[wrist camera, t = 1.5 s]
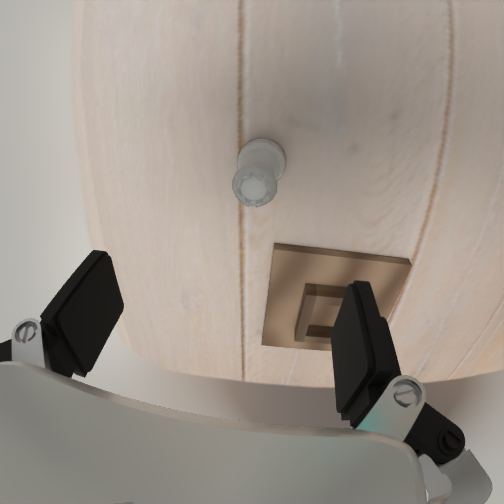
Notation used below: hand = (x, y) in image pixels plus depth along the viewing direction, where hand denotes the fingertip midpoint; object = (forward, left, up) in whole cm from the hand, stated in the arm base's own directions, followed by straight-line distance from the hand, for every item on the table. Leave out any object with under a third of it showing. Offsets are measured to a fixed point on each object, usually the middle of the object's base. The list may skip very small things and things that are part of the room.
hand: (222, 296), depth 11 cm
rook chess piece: (0, 0, -19) cm, 19 cm away
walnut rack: (-10, +17, -19) cm, 27 cm away
